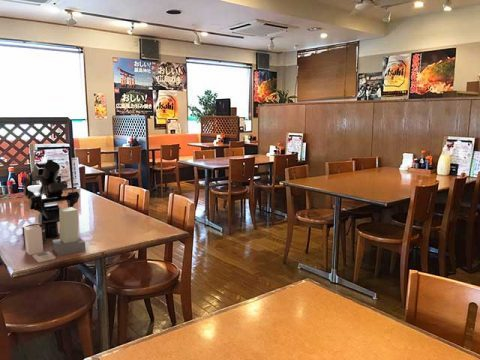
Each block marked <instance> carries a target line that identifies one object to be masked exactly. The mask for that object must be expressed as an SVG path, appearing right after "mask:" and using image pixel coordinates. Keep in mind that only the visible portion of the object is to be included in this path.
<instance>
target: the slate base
mask: <svg viewBox="0 0 480 360" xmlns="http://www.w3.org/2000/svg"><path fill="white" fill-rule="evenodd" d="M51 241H52V242H51V243H52V250H53V251H54V252H55V254H56V255H57V256H65V255H71V254H74V253H79V252H84V251H86V241H85V240H84V239H82V238H81V236H79V235H78V241H76V242H71V243H66V244H65V243H63V242H62V241H60V238H57V239H52V240H51Z"/></svg>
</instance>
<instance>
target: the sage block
mask: <svg viewBox="0 0 480 360" xmlns="http://www.w3.org/2000/svg"><path fill="white" fill-rule="evenodd" d="M59 220H60V222H59V233H60V236H59V239H60V241H62V242H63V243H65V244H66V243H71V242H76V241H78V236H79V235H78V233H79V231H78V209H77V208H74V206H73V207H69V208H68V207H63V208H62V207H61V209H59Z"/></svg>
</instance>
